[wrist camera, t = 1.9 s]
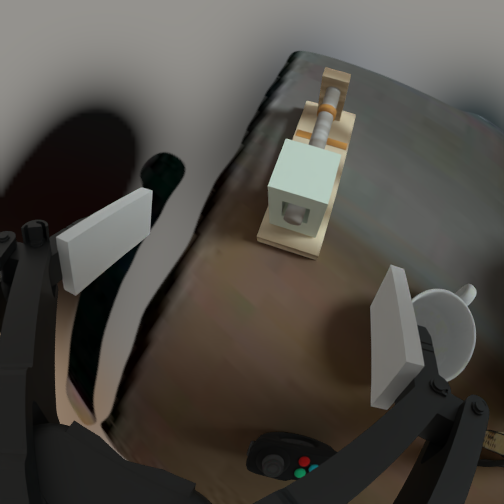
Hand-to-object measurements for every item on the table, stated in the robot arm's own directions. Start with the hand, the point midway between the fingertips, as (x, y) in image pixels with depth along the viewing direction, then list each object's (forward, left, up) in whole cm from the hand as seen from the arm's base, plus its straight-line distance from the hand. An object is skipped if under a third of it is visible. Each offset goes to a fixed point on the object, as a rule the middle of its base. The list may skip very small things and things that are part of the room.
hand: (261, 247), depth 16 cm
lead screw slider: (-12, -15, -24) cm, 31 cm away
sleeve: (-7, -10, -22) cm, 25 cm away
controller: (+2, +19, -24) cm, 31 cm away
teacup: (-18, +11, -24) cm, 32 cm away
